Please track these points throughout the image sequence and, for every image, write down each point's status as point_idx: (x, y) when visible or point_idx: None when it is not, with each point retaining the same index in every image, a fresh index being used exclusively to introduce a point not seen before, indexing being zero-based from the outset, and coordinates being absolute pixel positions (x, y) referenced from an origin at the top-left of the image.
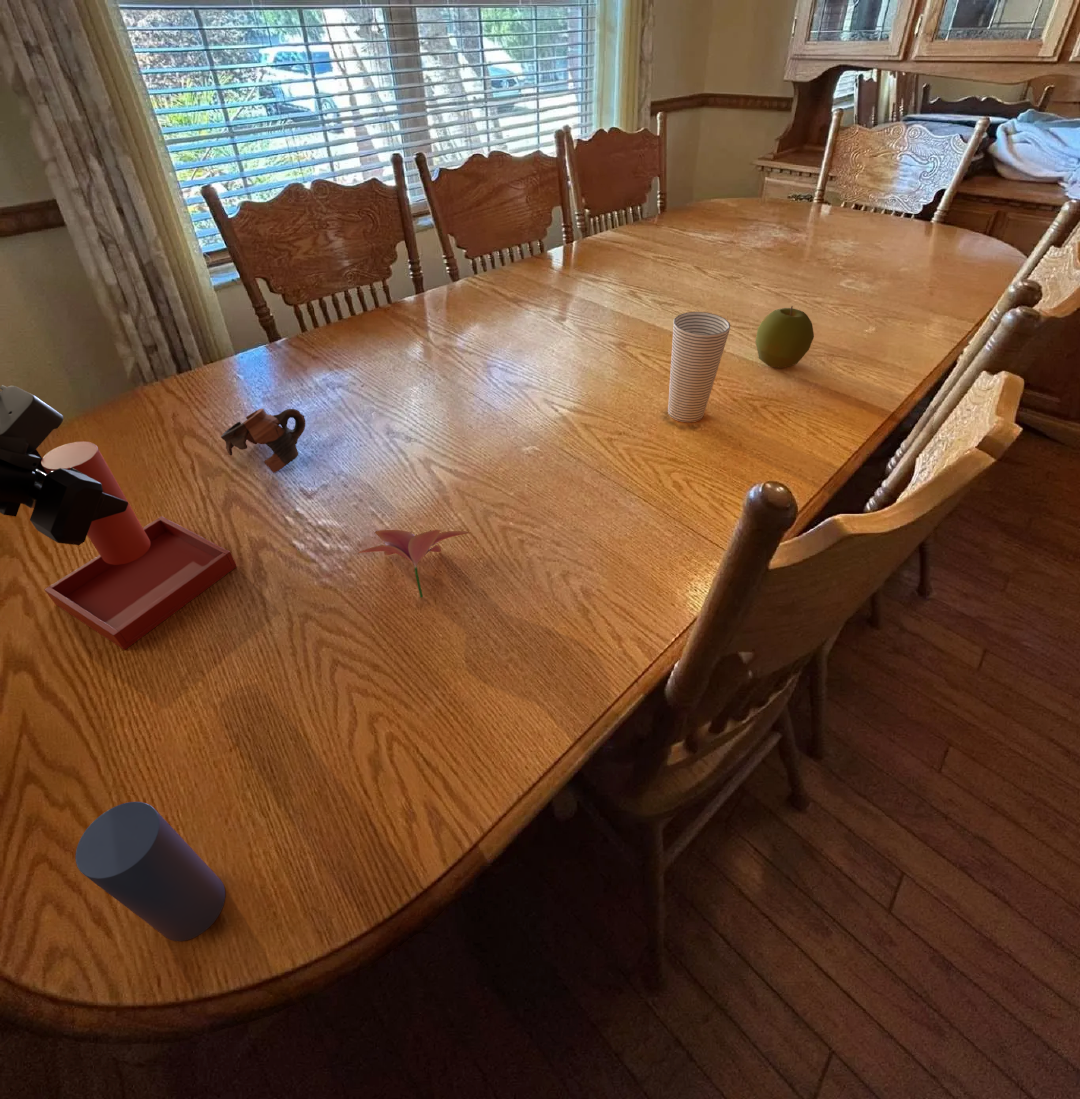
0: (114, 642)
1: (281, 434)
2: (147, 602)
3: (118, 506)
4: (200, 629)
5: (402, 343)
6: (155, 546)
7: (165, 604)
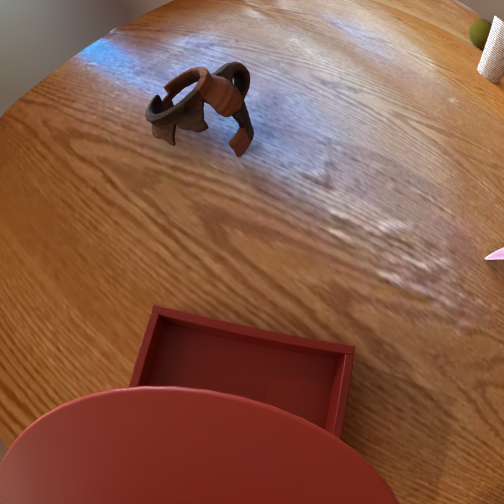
0: None
1: (241, 97)
2: None
3: None
4: None
5: (233, 10)
6: (173, 362)
7: None
